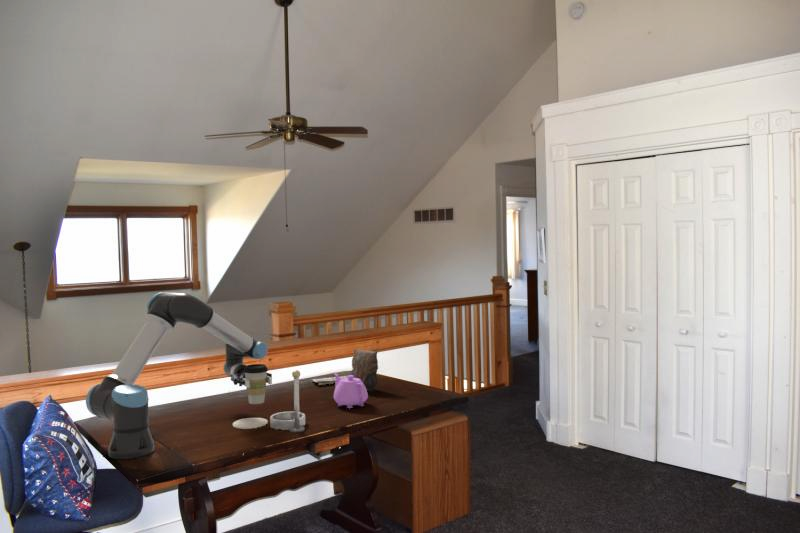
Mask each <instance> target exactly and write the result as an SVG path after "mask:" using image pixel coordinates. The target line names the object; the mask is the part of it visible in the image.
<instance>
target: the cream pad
mask: <svg viewBox="0 0 800 533" xmlns="http://www.w3.org/2000/svg"><path fill="white" fill-rule="evenodd" d="M268 423H269V422H268V419H266V418H263V417H246V418H241V419H238V420H235V421H234V422H232V427H233V428H235V429H239V430H251V429H253V428H254V429H257V428H258V427H259V428H261V427H262V426H263V427H264V426H266V424H267V425H268Z"/></svg>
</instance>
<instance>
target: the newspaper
mask: <svg viewBox="0 0 800 533" xmlns="http://www.w3.org/2000/svg"><path fill="white" fill-rule="evenodd" d="M347 376H348V375H341V376H340V375H339V377H340V380H341V379H344V378H347ZM310 382H318V384H317V387H318V386H319V385H322V386H327V385H326V384H329V385H335V384H334V383H336V377H335V376H331V377H322V378H313V379H311V381H310ZM319 387H320V386H319Z"/></svg>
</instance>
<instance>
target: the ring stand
mask: <svg viewBox="0 0 800 533" xmlns="http://www.w3.org/2000/svg"><path fill="white" fill-rule="evenodd" d="M291 373H292V374H291V375H292V377H293V409H294V410H293V411H280V412H276V413H272V415H270V417H269V423H270V424H269V425H270V428H271V429H273V428H274V429H273V430H278V429H281V430H282V431H286V430H287V431H289V432H290V433H293V434H296V433H298V432H299V433H303V432H305V426H306V414H305V413H303V412H301V411H300V384H299V383H300V376H301V372H300V370H297V369H295V370H293V371H292V372H291ZM281 430H280V431H281Z"/></svg>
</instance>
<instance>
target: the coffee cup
mask: <svg viewBox="0 0 800 533" xmlns="http://www.w3.org/2000/svg"><path fill="white" fill-rule="evenodd" d="M243 372H244V373H245V379H247V380H249V381H250V388H247V387H246V386H245V387H246V394H247V399H248V404H249V405H259V404H263V403H265V395H266V391H267V390H266V389H267V383H266V380H267V377H266V375H267V373H268V372H269V369H268V367H267V365H266V364H262V363H253V364H249V365H247V366H245V369H244V371H243Z"/></svg>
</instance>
